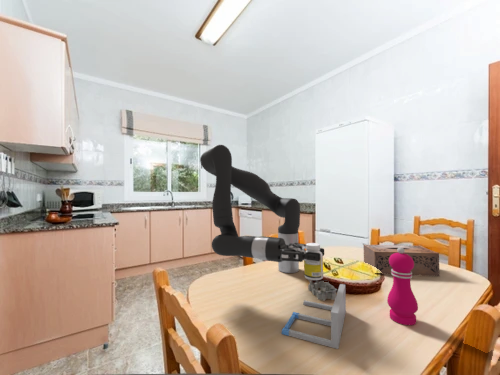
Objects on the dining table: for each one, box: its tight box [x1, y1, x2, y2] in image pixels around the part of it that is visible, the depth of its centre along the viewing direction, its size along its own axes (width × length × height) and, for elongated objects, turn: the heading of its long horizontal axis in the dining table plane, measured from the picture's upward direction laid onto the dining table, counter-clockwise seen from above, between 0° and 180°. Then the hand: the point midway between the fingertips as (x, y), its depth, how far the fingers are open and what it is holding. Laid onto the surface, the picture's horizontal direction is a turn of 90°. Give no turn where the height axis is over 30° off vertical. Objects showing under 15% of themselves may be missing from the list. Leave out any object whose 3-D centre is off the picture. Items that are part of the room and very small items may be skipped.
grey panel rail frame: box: [281, 283, 347, 350], centre depth 65 cm, size 19×14×8 cm
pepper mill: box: [386, 247, 419, 326], centre depth 66 cm, size 7×7×20 cm
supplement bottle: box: [303, 242, 324, 281], centre depth 70 cm, size 5×5×10 cm
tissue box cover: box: [363, 244, 441, 277], centre depth 109 cm, size 26×14×10 cm, turn 82°
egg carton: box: [306, 278, 338, 302], centre depth 84 cm, size 11×8×4 cm
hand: (322, 254), depth 69 cm, fingers closed on supplement bottle, 5 cm apart
